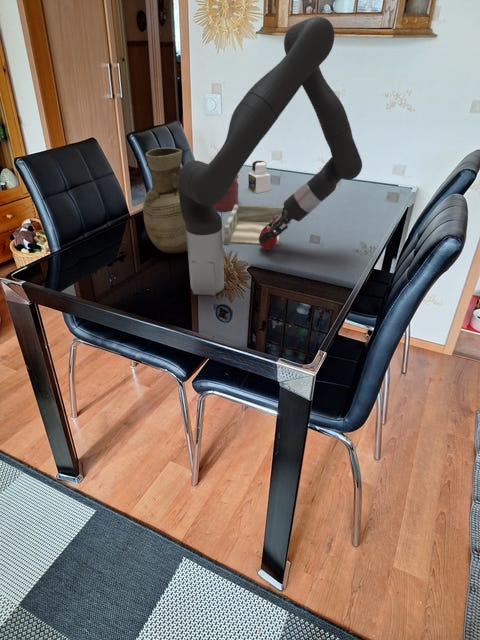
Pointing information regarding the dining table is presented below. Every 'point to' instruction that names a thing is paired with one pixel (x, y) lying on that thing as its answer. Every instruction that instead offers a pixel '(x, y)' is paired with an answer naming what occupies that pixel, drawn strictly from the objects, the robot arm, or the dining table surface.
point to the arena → (248, 223)
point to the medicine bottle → (259, 177)
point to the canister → (229, 198)
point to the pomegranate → (270, 242)
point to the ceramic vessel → (165, 202)
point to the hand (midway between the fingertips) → (262, 237)
